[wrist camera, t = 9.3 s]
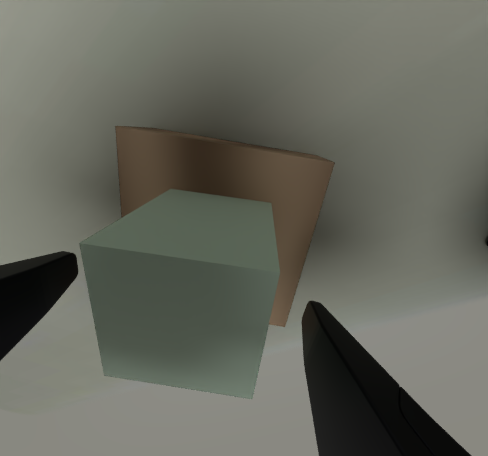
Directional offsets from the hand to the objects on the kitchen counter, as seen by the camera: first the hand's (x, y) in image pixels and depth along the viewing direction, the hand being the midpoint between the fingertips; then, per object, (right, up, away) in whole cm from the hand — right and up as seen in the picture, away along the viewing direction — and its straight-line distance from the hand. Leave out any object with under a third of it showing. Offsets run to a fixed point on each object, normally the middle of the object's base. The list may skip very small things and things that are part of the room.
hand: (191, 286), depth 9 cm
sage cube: (+1, +2, +3) cm, 4 cm away
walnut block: (+1, +3, +7) cm, 8 cm away
